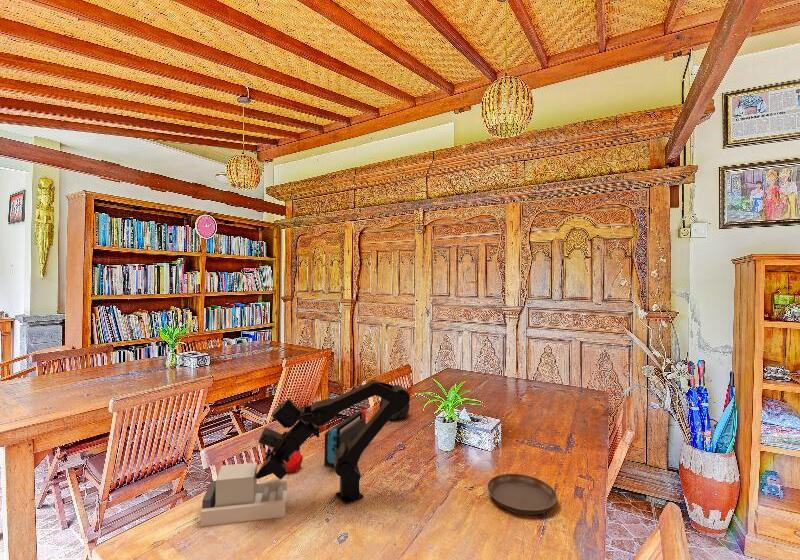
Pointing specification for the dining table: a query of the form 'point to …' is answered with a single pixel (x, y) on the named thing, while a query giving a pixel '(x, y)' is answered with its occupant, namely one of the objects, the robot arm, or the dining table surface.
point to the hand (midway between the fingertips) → (256, 477)
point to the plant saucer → (522, 493)
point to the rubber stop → (210, 496)
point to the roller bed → (251, 506)
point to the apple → (294, 462)
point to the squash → (401, 413)
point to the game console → (343, 435)
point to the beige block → (236, 484)
